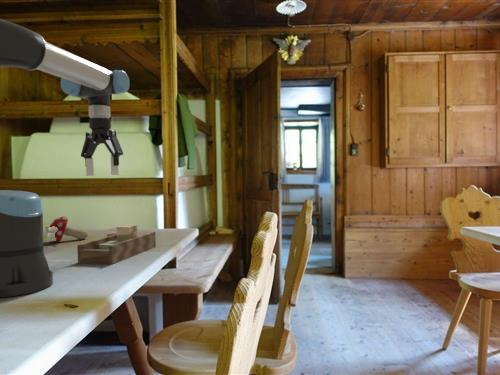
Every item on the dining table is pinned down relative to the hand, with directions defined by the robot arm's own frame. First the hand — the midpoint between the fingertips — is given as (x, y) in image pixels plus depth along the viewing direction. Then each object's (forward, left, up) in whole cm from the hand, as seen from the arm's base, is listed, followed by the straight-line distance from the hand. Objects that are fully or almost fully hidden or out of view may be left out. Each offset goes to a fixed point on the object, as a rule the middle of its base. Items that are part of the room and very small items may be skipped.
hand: (102, 175), depth 139 cm
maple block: (-7, -14, -23) cm, 28 cm away
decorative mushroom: (+10, +24, -27) cm, 38 cm away
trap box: (-11, -14, -27) cm, 32 cm away
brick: (+14, +3, -28) cm, 31 cm away
